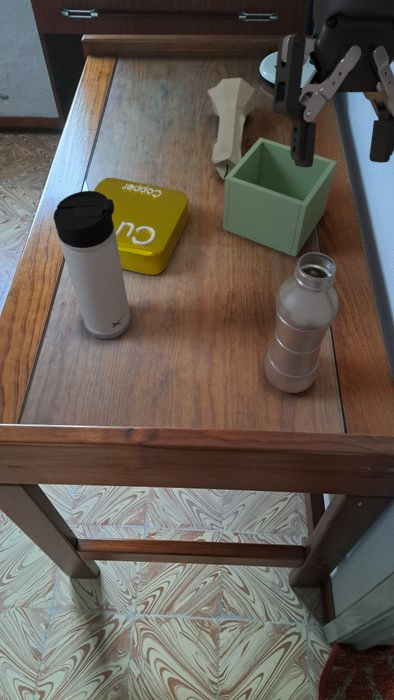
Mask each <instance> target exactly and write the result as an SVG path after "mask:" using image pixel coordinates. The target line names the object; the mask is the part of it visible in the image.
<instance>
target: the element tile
mask: <svg viewBox="0 0 394 700" xmlns="http://www.w3.org/2000/svg"><path fill="white" fill-rule="evenodd" d="M93 191H96V192H99V193H102V194H103V195H105V196H106V197H107V198H108V199H112V200H113V204H114V212H113V214H112V220H113V223H114V229H115V233H116V239H117V244H118V250H119V256H120V261H121V267H122V270H126V271H130V272H135V273H140V274H142V275H148V276H153V275H154V276H156V275H159V274H161V273H162V272H164V270H165V269H166V267H167V265H168V263H169V261H170V259H171V257H172V256H173V255H172V254H173V252H174V251H175V248H176V247H177V244H178V243H179V240H180V238H181V236H182V234H183V233H184V230H185V229H186V226H187V224H188V222H189V218H190V217H189V216H190V215H189V196H188V195H187V194H186V193H185V192H183V191H180V190H177V189H172V188H167V187H163V186H157V185H151V184H147V183H142V182H137V181H133V180H126V179H122V178H117V177H105V178H104V179H102V180H101V181H99V182H98V183H97V185H96V186H95V188H94V189H93Z"/></svg>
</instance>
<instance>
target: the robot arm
mask: <svg viewBox="0 0 394 700" xmlns="http://www.w3.org/2000/svg"><path fill="white" fill-rule="evenodd" d="M312 20H313V23H314V28H313V33H312V36H311V37H305V35H304V34H303V33H301V32H298V33H294V34H289V35H285V36H282V37H280V39H278V43H277V55H276V66H275V76H274V86H273V96H272V97H273V98H272V111H273V113H274V114H276V115H280V116H283V117H285V118H288V119H289V120H290V123H291V137H290V147H291V151H290V154H291V158H292V160H294V163H295V165H296V166H299V167H311V166H312V165H313V160H314V154H315V145H316V135H317V134H316V133H317V123H316V122H313V121H315V119H316V117H317V116H318V114H319V113H320V112H321V110H322V108H323V107H324V106H325V104H326V103H327V102H328V101H330V100H331V99H332V98H333V97H334V95H335V94H338V93H341V94H342V93H350V94H351V93H362V94H363V97H364V99H366V100H368V101H369V102H370V104H371V107H372V109H373V111H374V114H375V115H376V117H377V118H378V119H374V120H373V125H372V131H371V141H370V142H371V143H370V149H369V161H370V162H371V163H383V164H384V163H388V162H389V161H390V159H391V156H393V154H394V72H393V69H392V67H391V64H392V63H394V0H313V6H312ZM308 59H310V61H311V63H312V65H313V68H314V70H313V72H312V73H311V75H310V76H309V78H308V79H307V81H306V82H305V84H304V85H303V87H302V78H303V70H304V65H305V64H306V63H307V61H308ZM301 88H302V89H301Z"/></svg>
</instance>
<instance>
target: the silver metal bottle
mask: <svg viewBox="0 0 394 700" xmlns="http://www.w3.org/2000/svg"><path fill="white" fill-rule="evenodd" d="M336 273H337V265H336V262H335V261H334V259H332V258H331V257H330V256H329V255H327V254H325V253H321V252H316V251H311V252H307V253H305V254H303V255H301V256H300V257H299V259H298V261H297V266H296V267H295V269H294V272H293V275H291V276H290V277H288V278H286V279H285V280H284V281H283V282H282V284H281V285H280V287H278V289H277V291H276V294H275V305H274V306H275V328H274V335H273V338H272V341H271V345H270V346H269V348H268V349H267V351H266V354H265V356H264V360H263V367H264V374H265V377H266V379H267V381H268V382H269V383H270V384H271V386H273V387H274V388H275V389H277V390H279V391H281V392H284V393H287V394H288V393H289V394H297V393H302V392H304V391H306V390H308V389H309V388H310V387H311V386H312V384H313V383H314V382H315V380H316V378H317V376H318V374H319V373H318V372H319V355H320V352H321V351H320V350H321V346H322V343H323V341H324V338H325V336H326V334H327V332H328V330H329V329H330V327H331V325H332V323H333V322H334V320H335V319H336V317H337V315H338V312H339V307H340V306H339V297H338V293H337V291H336V289H335V287H334V282H335V277H336Z"/></svg>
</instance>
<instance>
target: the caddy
mask: <svg viewBox="0 0 394 700" xmlns="http://www.w3.org/2000/svg"><path fill="white" fill-rule="evenodd" d="M290 151H291V146H289V145H286V144H282V143H279V142H277V141H272V140H271V139H267V138H263V137H259V138H258V139H257V140H256V141H255V143H254V144H253V145H252V146H251V147H250V148H249V149H248V151H247V152H245V154H244V155H243V157H241V158H242V159H241V160H240V161H239V162H238V164H237V165H236V166H235V167H234V168H233V169H232V171H231V172H230V173H229V174H228V175H227V176H226V177H225V179H224V192H223V193H224V194H223V197H224V198H223V211H222V230H224V231H226V232H229V233H231V234H234V235H237V236H239V237H242V238H245V239H247V240H249V241H252V242H256V243H258V244H261V245H263V246H266V247H268V248H271V249H274V250H276V251H278V252H281V253H284V254H286V255H289V256H291V257H294V258H296V257H297V256H298V255H299V253H300V251H301V250H302V248H303V246H304V245H305V244H306V242H307V240H308V239H309V237H310V235H311V234H312V233H313V231H314V230H315V228H316V226H317V225H318V223H319V222H320V220H321V218H322V217H323V216H324V214H325V212H326V209H327V208H326V207H327V203H328V199H329V196H330V191H331V187H332V184H333V179H334V176H335V171H336V167H337V164H338V161H337V160H333V159H330V158H327V157H324V156H320V155H318V154H315V153H314V160H313V165H312V166H311V167H299V166H296V165H295V163H294V160H292V158H291V154H290Z"/></svg>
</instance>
